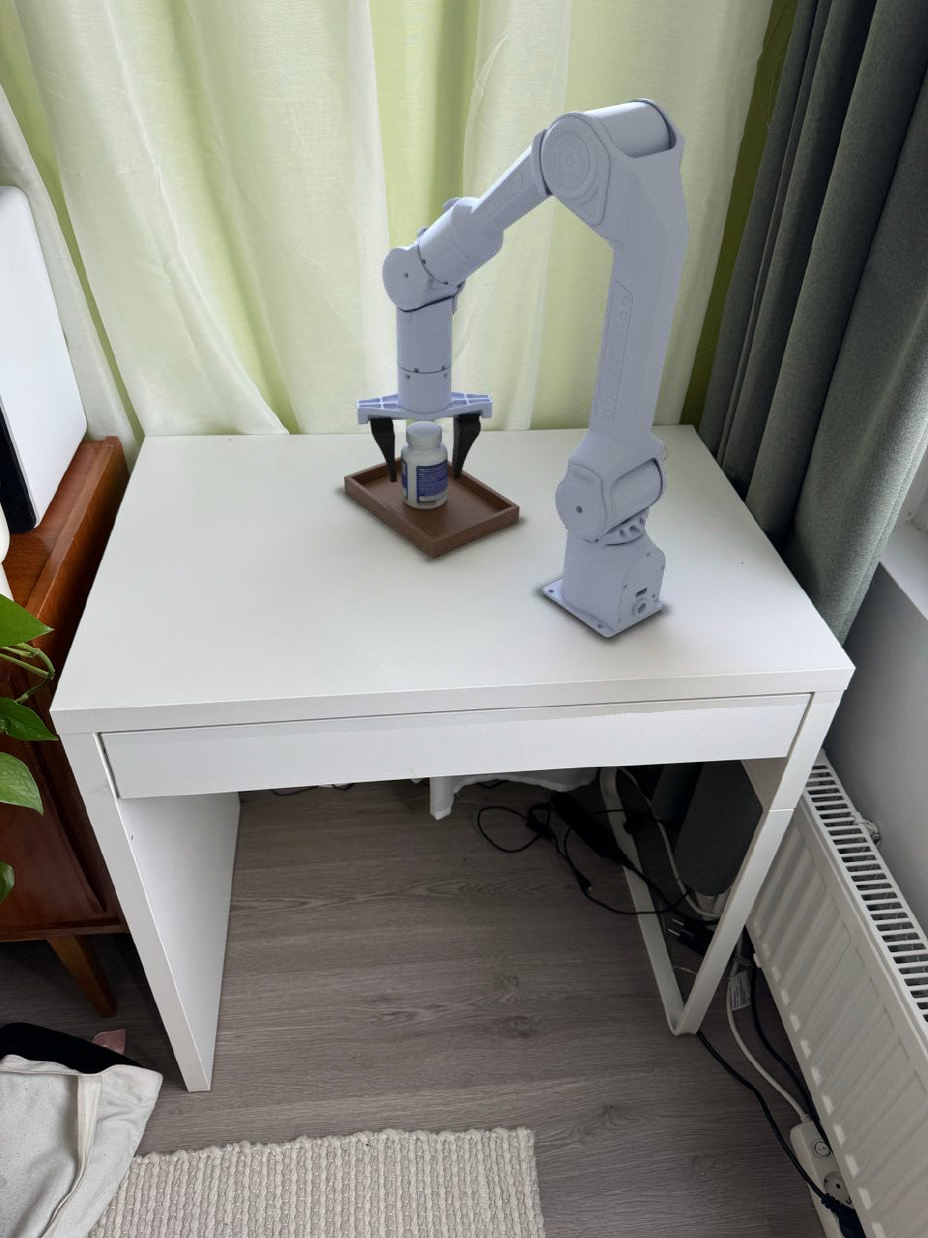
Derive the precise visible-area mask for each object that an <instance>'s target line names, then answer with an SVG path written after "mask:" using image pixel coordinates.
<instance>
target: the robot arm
mask: <svg viewBox="0 0 928 1238" xmlns="http://www.w3.org/2000/svg"><path fill="white" fill-rule="evenodd" d="M685 143H686V139H685V137H684V136H683V134H682V132H681V131H680V130H679V128H678V126H677V125H676V123H675V122H674V121H673V119H672V118H671V116H670V114H669V113H668V112H667V110H666V109H665V108H664V107H663V106H662V105H661V104H660V103H658V102H657V101H655V100H652V99H649V98H636V99H635V98H634V99H633V100H630V101H627V102H625V103H622V104H617V105H611V106H607V107H602V108H596V109H592V110H591V109H590V110H585V111H568V112H565V113H563V114H560V115H559V116H557V117H556V118H555V119H554V120H553V121H552V122H551V123H550V124H549V126H548V127H547V128H544V129H542V130H540V131H539V132H537V133H536V134H534V135H533V137H532V139H531V143H530V145H529V146H528V148H526V150H525V151H524V152H523V153H521V155H520V156H519V157H518V158H517V159H516V160H515V161H514V162H513V163H512V164H511V165H510V166H509V168H508V169H507V170H505V171H504V172H503V174H502V175H501V176H500V177H499V178H498V179H497V180H496V181H495V182H494V183H493V184H492V185H491V186H490V187H489V188H488V189H487V190H486V191H485V192H484V194H482V196H481V197H480V198H478V197H473V196H465V197H460V196H458V197H454V198H450V199H448V200H447V201H446V202H444V203H443V205H442V206H441V207H442V210H443V212H444V213H443V214H442V215H441V216H439V217H438V219H436V220H435V221H434V222H433V223H432V224H431V225H430V226H429V225H428V226H425V227H422V228H420V229H419V230H418V231H417V232H416V237H417V238H416V239H415V241H414V242H413V243H412V244H411V245H408V246H403V245H402V246H401V245H399V246H395V247H392V248H391V249H390V250H389V252H388V253H387V255H386V256H385V259H384V261H383V265H382V269H381V270H382V271H381V275H382V283H383V286H384V289H385V291H386V294H387V296H388V298H389V299H390V301H391V302H392V303H393V304H394V305H395V330H396V331H395V332H396V370H397V371H396V375H397V393H391V394H388V395H383V396H378V397H374V398H368V399H357V400H356V416H357V418H356V419H357V424H358V425H359V426H361V425H368V424H369V426H370V432H371V435H372V437H373V439H374V441H375V443H376V445H377V446H378V448H379V449H380V451H381V453H382V456H383V458H384V462H386V463H387V466H388V469H389V476H390V481H391V482H397V472H396V464H395V458H396V433H395V426H394V421H400V420H401V421H402V420H404V421H405V420H414V421H435V420H440V419H443V418H444V419H445V418H452V428H453V429H452V430H453V432H452V433H453V439H452V440H453V443H452V455H451V456H452V457H451V463H452V471H453V475H454V478H455V479H459V478H461V472H462V470H464V469H463V468H464V465H465V462H466V459H467V457H468V454H469V452H470V450H471V448H472V446H473V445H474V443H475V442H476V440H477V438H478V437H479V435H480V433H481V430H482V429H481V428H482V423H481V420H480V418H481V419H492V417H493V415H492V414H493V400H492V397H491V395H490V394H487V393H486V394H485V393H484V394H482V393H481V394H478V393H477V394H476V393H467V392H459V391H458V392H455V391H452V367H453V366H452V365H453V363H452V361H453V360H452V358H453V356H452V355H453V316H454V315H455V312H457V311H458V309H457V308H458V307H457V306H458V298H459V296H460V295H461V294H462V292H463V291H464V288H465V286H466V282H467V279H468V278H469V277H470V276H472V275H473V274H474V273H475V272H477V271H478V270H479V269H480V268H482V267H483V266H484V265H485V264H486V263H488V262H489V261H490V260H492V259H493V258H494V257H495V256H496V255H498V254H499V253H500V251H501V249H502V247H503V244H504V237H505V235H504V231H505V230H507V229H508V228H510V227H511V226H512V225H514V224H515V223H516V222H518V221H519V220H520V219H522V218H523V217H524V216H526V215H527V214H529V213H530V212H531V211H532V210H534V209H535V208H536V207H538V206H540V205H541V204H542V203H543V202H545V201H547V199H549V198H550V197H553V196H554V197H555V198H556V199H557V200H558V201H559V202H560V203H561V204H562V205H563V206H564V207H566V208H567V209H568V211H570V212H571V213H573V215H575V216H576V217H577V218H578V219H579V220H580V221H581V222H583V223H584V224H585V225H586V226H587V227H588V228H589V229H591V230H592V231H593V232H594V233H595V234H597V236H599V237H600V238H601V239H604V240H605V241H606V243H607V244H608V245H609V247H610V248H611V250H612V252H613V257H612V264H611V269H610V270H611V271H610V280H609V284H608V292H607V299H606V305H605V313H604V321H603V325H602V332H601V333H602V334H601V340H600V347H599V355H598V362H597V370H596V375H595V383H594V388H593V389H594V390H593V395H592V403H591V408H590V409H591V411H590V417H589V425H588V430H587V431H586V433H585V435H584V436H583V437H582V439H581V440H580V442H579V443H578V445H577V446H576V447H575V449H574V450H573V452H572V453H571V454H570V456H569V458H568V461H567V467H566V473H565V475H564V477H562V480H561V481H559V483H558V485H557V487H556V489H555V495H554V502H555V508H556V512H557V514H558V517H559V519H560V521H561V523H562V525H564V529H565V530H567V534H566V541H565V542H566V543H565V551H564V561H563V570H562V578H559V579H557V580H556V581H554V582H552V583H549V584H547V585H545V586H543V587H542V593H543V594H544V595H545V596H547V597H548V598H549V599H550V600H552V601H553V602H555V603H556V604H558V605H560V607H562V608H563V609H565V610H567V611H568V612H569V613H571V614H572V615H573V616H575V617H576V618H578V619H579V620H580V621H582V622H583V623H585V624H586V625H587V626H588V627H590V628H591V629H593V630H594V631H595V632H597V633H599V634H600V635H602V636H603V637H604V638H608V639H609V638H612V637H614V636H615V635H617V634H619V633H621V632H623V631H624V630H627V629H628V628H630V627H632V626H633V625H635V624H637V623H639V622H641V621H643V620H645V619H646V618H648V617H650V616H652V615H653V614H656V613H658V612H659V611H661V610H662V608H663V604H662V603H661V602H659V600H660V594H661V591H662V590H661V589H662V585H663V580H664V574H665V568H666V564H667V563H666V562H667V561H666V555H665V553H664V551H663V550H662V549H661V548H659V547H658V545H656V544H655V543H654V541H652V539H651V538H650V535H648V532H647V531H646V522H647V519H648V518H649V514H650V513H649V512H650V507H652V506H654V505H655V504H657V503H658V502H659V501H660V500H661V499H662V498H663V496H664V494H665V492H666V489H667V475H666V471H665V467H664V453H665V448H666V445H665V443H664V442H663V441H662V440H661V439H660V438H659V436H657V435H656V434H654V433H653V432H652V429H653V424H654V419H655V413H656V409H657V402H658V398H659V393H660V392H659V391H660V388H661V387H660V386H661V382H662V379H663V378H662V377H663V374H664V373H663V372H664V366H665V362H666V357H667V351H668V347H669V340H670V336H671V331H672V325H673V319H674V314H675V310H676V305H677V299H678V294H679V288H680V284H681V279H682V273H683V268H684V263H685V258H686V253H687V247H688V243H689V234H690V233H689V232H690V222H689V216H688V210H687V203H686V199H685V192H684V186H683V180H682V175H681V165H682V160H683V156H684V155H683V154H684V150H685V149H684V148H685Z"/></svg>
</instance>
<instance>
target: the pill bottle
mask: <svg viewBox="0 0 928 1238" xmlns="http://www.w3.org/2000/svg"><path fill="white" fill-rule="evenodd" d="M405 441H406V443H404V444H403V446H402V447H401V449H400V457H401V480H402V499H403V501H404V502H405V503H406V504H407V505H409V506H410V507H413V508H416V509H433V508H437V507H439V506H441V505H442V504H444V503H445V501H446V500H447V485H448V483H447V482H448V461H449V458H448V457H449V452H448V448H447V446H446V445H445V444H444V443H443V428H442V426H440V424H438V423H436V422H434V421H431V420H417V421H415V422H412V423H409V424H408V425H407V426H406V427H405Z"/></svg>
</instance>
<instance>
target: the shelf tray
mask: <svg viewBox="0 0 928 1238" xmlns="http://www.w3.org/2000/svg"><path fill="white" fill-rule="evenodd" d="M395 464H396V472H397V482H391V481H390V476H389V469H388V466H387V463H386V461H384V462H382V463H378V464H376V465H373V466H370V467H367V468H365V469H362V470H359V471H356V472H353V473H350V474H348V475H345V476H343V480H344V492H345V493H347V494H348V495H349V496H350V497H352V498H353V499H354V500H356V501H357V502H358V503H359V504H360V505H362V506H363V507H365V508H366V509H367V510H369V511H370V512H371V513H372V514H374V515H375V516H376V517H378V518H379V519H380V520H382V521H383V522H384V523H385V524H387V525H389V527H391V528H392V529H394V530H395V531H396V532H397V533H399V534H400V535H401V536H403V537H404V538H405V539H406V540H408V541H409V542H411V543H412V544H413V545H414V546H416V548H417V547H418V549H420V551H422V552H424V553H425V554H426V555H427V556H429V557H430V558H432V559H436V558H437V557H440V556H442V555H444V554H447V553H449V552H451V551H454V550H456V549H458V548H460V547H464V546H465V545H467V544H471V543H472V542H474V541H477V540H479V539H481V538H485V537H486V536H488V535H491V534H493V533H496V532H498V531H500V530H502V529H505V528H507V527H509V526H511V525H514V524H516V523H519V522H520V521H519V520H520V509H521V508H520V506H519V505H518V504H516V503H515V502H513V501H512V500H510V499H509V498H507V497H505V496H504V495H502V494H501V493H499V492H498V491H496V490H495V489H493V488H492V487H490V486H488V485H487V484H485V483H484V482H482V480H480V479H478V478H476V477H474V476H473V475H472V474H470V473H469V472H468V471H465V470H464V469H462V472H461V478H459V479H455V478H454V475H453V471H452V461H450V460H448V482H447V483H448V485H447V500H446V501H445V503H444V504H442V505H441V506H439V507H437V508H433V509H416V508H413V507H410V506H409V505H407V504H406V503H405V502H404V501H403V499H402V480H401V456H398V457H395Z"/></svg>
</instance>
